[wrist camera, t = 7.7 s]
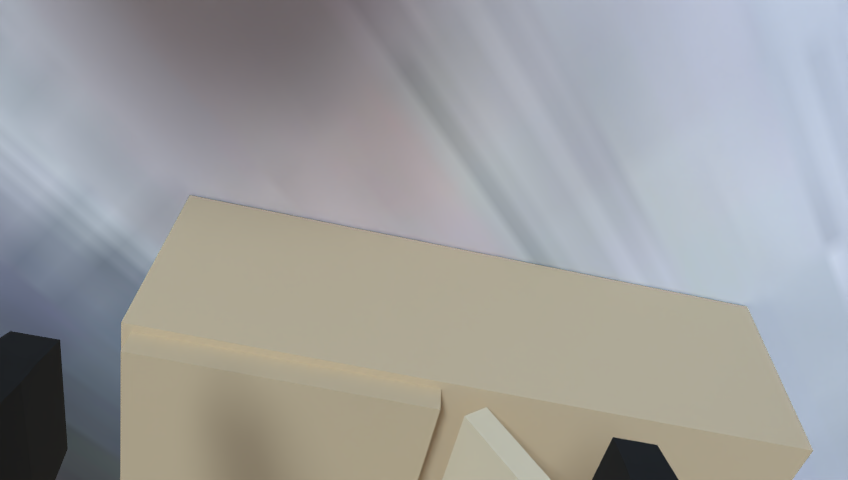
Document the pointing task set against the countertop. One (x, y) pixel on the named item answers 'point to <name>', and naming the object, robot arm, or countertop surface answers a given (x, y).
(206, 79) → the countertop surface
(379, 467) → the carton
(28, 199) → the countertop surface
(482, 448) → the carton flap
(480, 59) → the countertop surface
